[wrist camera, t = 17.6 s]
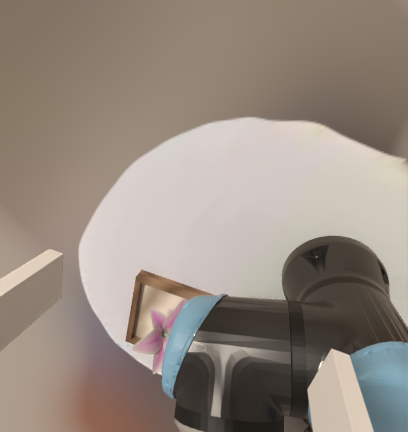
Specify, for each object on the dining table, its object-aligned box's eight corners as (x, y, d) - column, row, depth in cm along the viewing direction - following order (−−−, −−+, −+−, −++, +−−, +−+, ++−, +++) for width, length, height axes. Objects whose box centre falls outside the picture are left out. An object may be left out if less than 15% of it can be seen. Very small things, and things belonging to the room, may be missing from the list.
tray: (297, 324, 49) (298, 333, 47) (267, 384, 55) (267, 395, 53) (141, 269, 52) (136, 276, 50) (130, 332, 59) (125, 341, 57)
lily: (194, 348, 56) (203, 378, 47) (134, 353, 54) (131, 385, 45) (195, 290, 56) (204, 308, 46) (135, 293, 53) (132, 312, 44)
